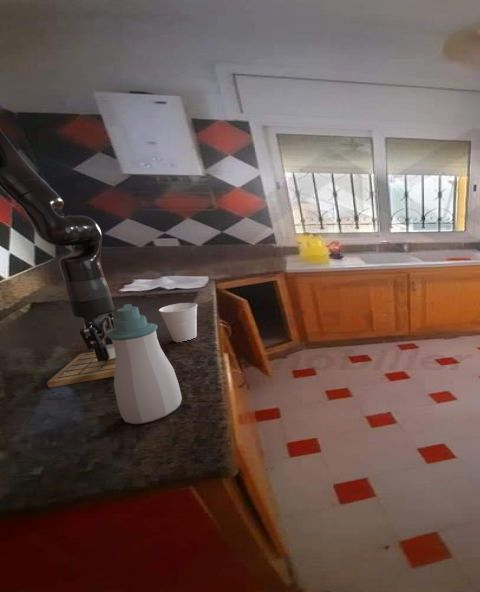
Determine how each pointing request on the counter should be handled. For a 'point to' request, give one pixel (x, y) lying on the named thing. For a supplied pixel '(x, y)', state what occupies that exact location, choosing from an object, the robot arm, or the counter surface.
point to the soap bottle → (141, 370)
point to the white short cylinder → (109, 351)
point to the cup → (180, 320)
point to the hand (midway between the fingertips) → (107, 355)
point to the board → (83, 370)
